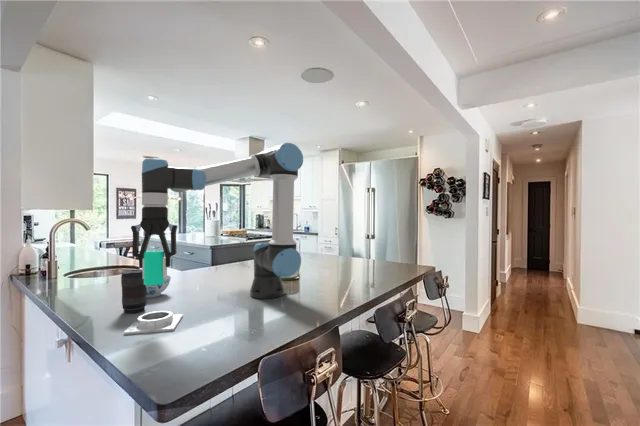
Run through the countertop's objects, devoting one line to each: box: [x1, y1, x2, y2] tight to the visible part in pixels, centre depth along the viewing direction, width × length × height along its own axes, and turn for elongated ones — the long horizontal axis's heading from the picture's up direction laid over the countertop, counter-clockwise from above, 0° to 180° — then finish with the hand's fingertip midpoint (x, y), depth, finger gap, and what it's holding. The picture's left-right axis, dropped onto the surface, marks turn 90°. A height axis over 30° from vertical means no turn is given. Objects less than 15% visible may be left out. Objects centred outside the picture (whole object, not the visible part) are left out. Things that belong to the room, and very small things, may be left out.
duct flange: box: [122, 310, 184, 336], centre depth 103 cm, size 14×14×3 cm
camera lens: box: [120, 268, 147, 315], centre depth 118 cm, size 8×8×15 cm
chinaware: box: [146, 274, 172, 299], centre depth 140 cm, size 15×15×8 cm
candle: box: [144, 249, 165, 285], centre depth 103 cm, size 6×6×12 cm
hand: (155, 277), depth 103 cm, fingers closed on candle, 5 cm apart
